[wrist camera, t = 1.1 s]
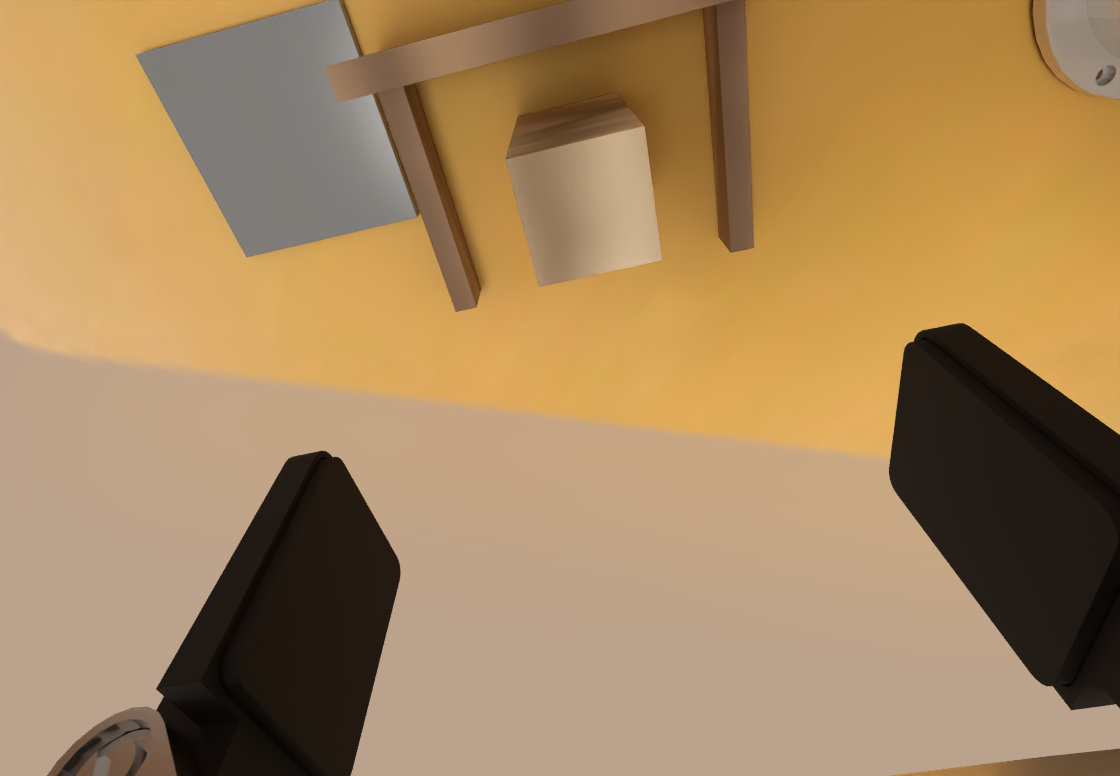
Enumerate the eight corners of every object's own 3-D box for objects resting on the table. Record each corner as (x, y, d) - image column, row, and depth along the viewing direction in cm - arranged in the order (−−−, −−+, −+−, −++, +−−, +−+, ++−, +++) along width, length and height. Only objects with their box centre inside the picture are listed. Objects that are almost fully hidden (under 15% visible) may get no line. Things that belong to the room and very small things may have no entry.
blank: (615, 92, 28) (644, 125, 20) (630, 193, 31) (662, 260, 23) (517, 116, 29) (505, 159, 20) (540, 213, 31) (538, 286, 23)
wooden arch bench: (727, -40, 25) (791, -59, 19) (740, 232, 32) (791, 290, 25) (379, 53, 27) (323, 66, 20) (461, 293, 34) (440, 362, 27)
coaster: (341, -2, 26) (337, -3, 25) (419, 214, 31) (417, 217, 31) (143, 54, 27) (135, 55, 26) (251, 253, 32) (246, 257, 32)
